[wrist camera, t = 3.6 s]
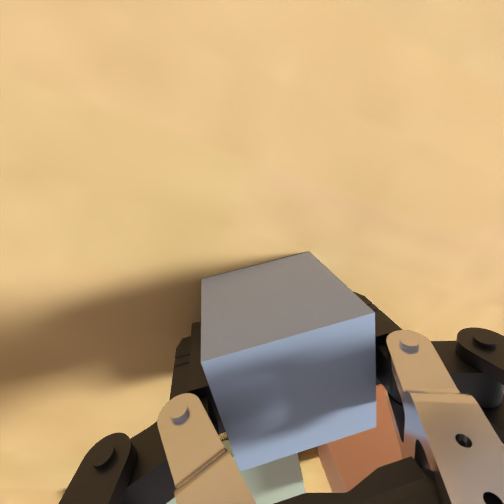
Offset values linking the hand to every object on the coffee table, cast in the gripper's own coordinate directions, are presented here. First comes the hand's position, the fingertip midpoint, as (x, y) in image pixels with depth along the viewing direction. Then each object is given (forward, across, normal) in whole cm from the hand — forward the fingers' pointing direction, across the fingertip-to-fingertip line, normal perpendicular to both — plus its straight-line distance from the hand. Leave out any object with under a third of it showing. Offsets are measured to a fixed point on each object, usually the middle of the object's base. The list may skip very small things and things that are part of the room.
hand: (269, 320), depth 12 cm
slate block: (+1, 0, 0) cm, 1 cm away
